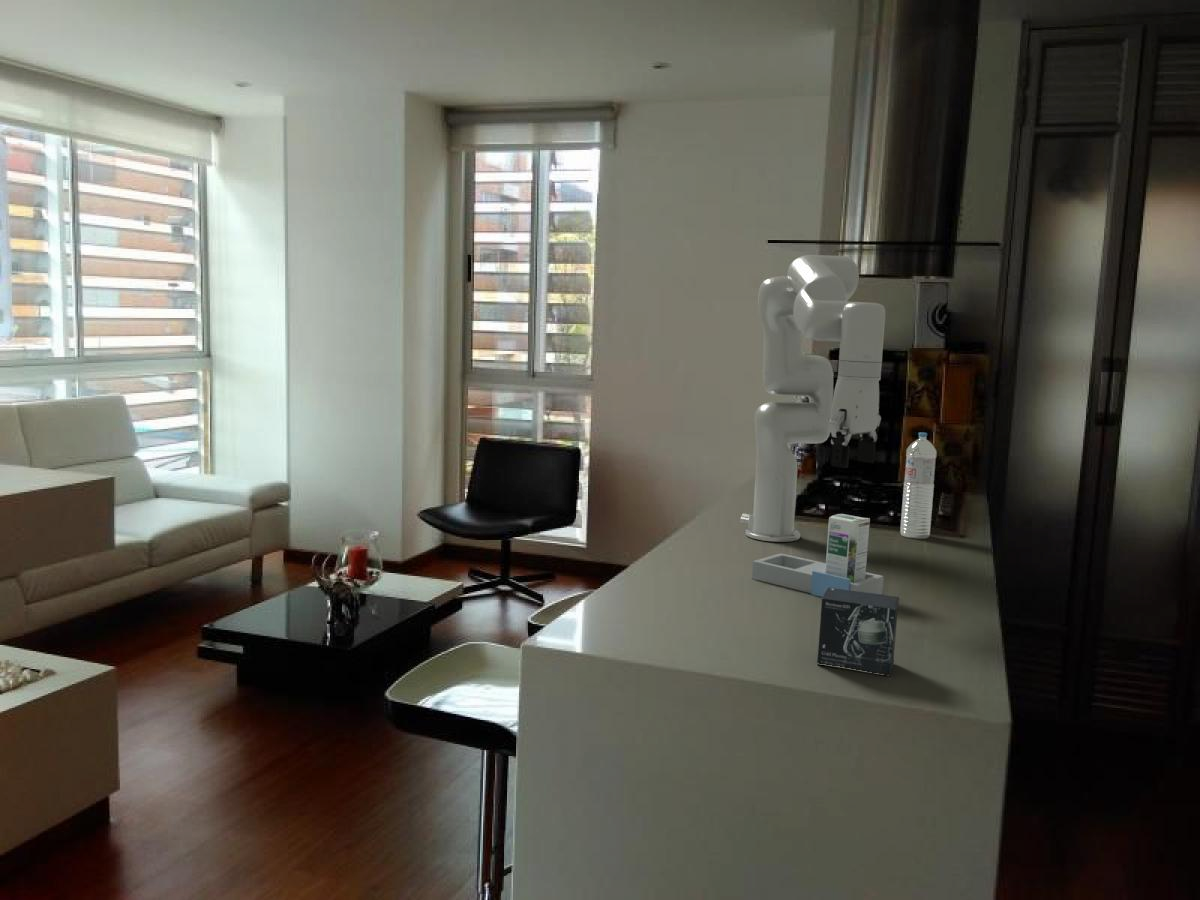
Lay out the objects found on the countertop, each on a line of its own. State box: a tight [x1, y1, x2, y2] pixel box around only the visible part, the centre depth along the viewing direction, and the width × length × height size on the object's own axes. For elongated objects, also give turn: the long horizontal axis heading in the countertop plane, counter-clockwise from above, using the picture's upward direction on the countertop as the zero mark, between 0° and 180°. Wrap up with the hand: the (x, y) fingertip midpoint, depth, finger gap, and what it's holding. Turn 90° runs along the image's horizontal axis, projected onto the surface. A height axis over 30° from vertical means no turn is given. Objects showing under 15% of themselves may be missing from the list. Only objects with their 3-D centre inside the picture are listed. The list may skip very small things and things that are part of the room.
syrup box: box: [825, 513, 871, 583], centre depth 178 cm, size 6×6×14 cm
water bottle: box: [899, 432, 938, 540], centre depth 228 cm, size 7×7×25 cm
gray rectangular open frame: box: [751, 553, 884, 598], centre depth 183 cm, size 22×10×4 cm, turn 47°
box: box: [816, 588, 900, 676], centre depth 141 cm, size 11×7×10 cm, turn 69°
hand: (852, 464), depth 176 cm, fingers open, 9 cm apart
